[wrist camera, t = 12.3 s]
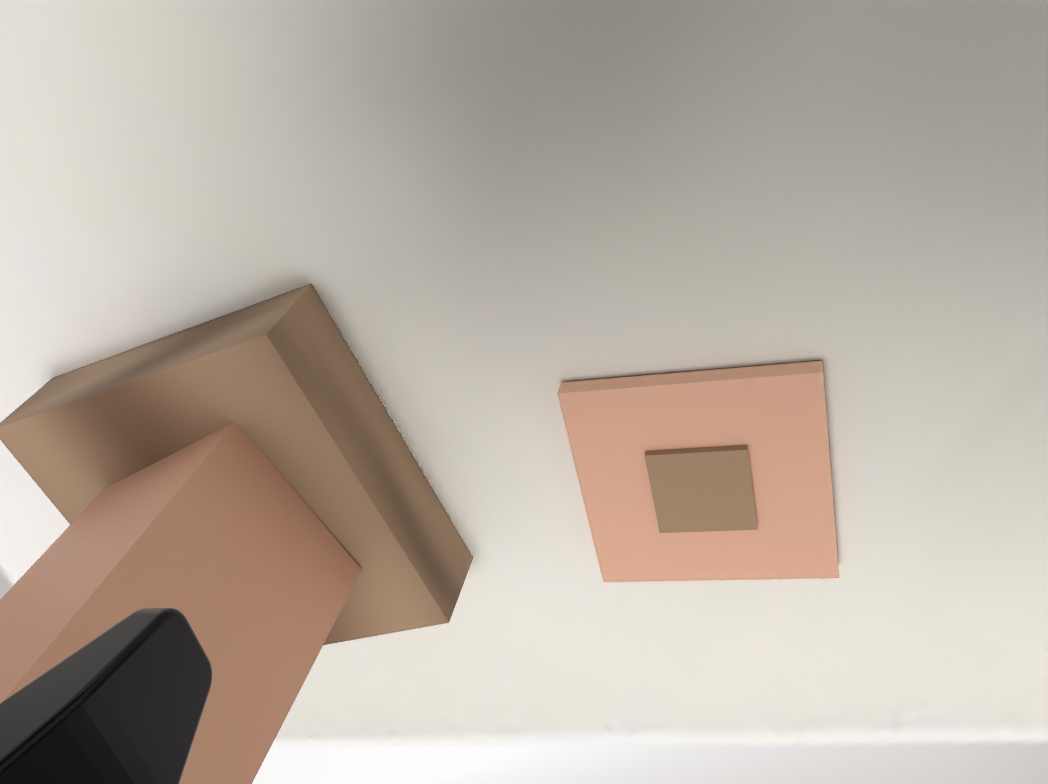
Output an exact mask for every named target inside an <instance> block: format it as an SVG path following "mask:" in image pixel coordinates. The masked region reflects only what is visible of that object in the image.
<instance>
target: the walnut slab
mask: <svg viewBox="0 0 1048 784" xmlns="http://www.w3.org/2000/svg"><path fill="white" fill-rule="evenodd" d="M234 422H237V424H238V425H239V426H240V427H241V428H242V429H243V431H244V432H245V433H246V434H247V435H248V436H249V437H250V439H251V440H252V441H253V442H254V443H255V444H256V446H257V447H258V448H259V449H260V450H261V451H262V453H263V454H264V455H265V456H266V457H267V459H268V460H269V461H270V462H271V463H272V464H273V466H274V467H275V468H276V469H277V470H278V471H279V473H280V474H281V475H282V476H283V477H284V479H285V480H286V481H287V482H288V483H289V484H290V486H291V487H292V488H293V489H294V490H295V491H296V493H297V494H298V495H299V496H300V497H301V499H302V500H303V501H304V502H305V503H306V504H307V506H308V507H309V508H310V509H311V510H312V511H313V513H314V514H315V515H316V516H317V517H318V518H319V520H320V521H321V522H322V523H323V524H324V526H325V527H326V528H327V529H328V530H329V531H330V533H331V534H332V535H333V536H334V537H335V538H336V540H337V541H338V542H339V543H340V544H341V546H342V547H343V548H344V549H345V550H346V551H347V553H348V554H349V555H350V556H351V557H352V558H353V560H354V561H355V562H356V563H357V564H358V565H359V567H360V568H361V569H362V570H361V572H360V574H359V576H358V578H357V580H356V582H355V584H354V586H353V588H352V590H351V592H350V594H349V596H348V598H347V599H346V601H345V603H344V605H343V607H342V609H341V611H340V613H339V615H338V617H337V619H336V621H335V623H334V625H333V627H332V629H331V631H330V632H329V634H328V636H327V638H326V640H325V642H324V644H323V645H326V644H332V643H337V642H343V641H349V640H354V639H360V638H365V637H371V636H377V635H382V634H388V633H393V632H399V631H405V630H410V629H416V628H421V627H427V626H433V625H438V624H444V623H449V621H450V618H451V616H452V613H453V610H454V608H455V605H456V602H457V600H458V597H459V594H460V591H461V589H462V586H463V583H464V581H465V578H466V575H467V573H468V570H469V567H470V564H471V562H472V559H473V557H472V555H471V553H470V552H469V550H468V548H467V547H466V545H465V543H464V541H463V540H462V538H461V536H460V535H459V533H458V531H457V530H456V528H455V526H454V525H453V523H452V521H451V519H450V518H449V516H448V514H447V513H446V511H445V509H444V508H443V506H442V504H441V503H440V501H439V499H438V497H437V496H436V494H435V492H434V491H433V489H432V487H431V486H430V484H429V482H428V481H427V479H426V477H425V475H424V474H423V472H422V470H421V469H420V467H419V465H418V464H417V462H416V460H415V458H414V457H413V455H412V453H411V452H410V450H409V448H408V447H407V445H406V443H405V442H404V440H403V438H402V436H401V435H400V433H399V431H398V430H397V428H396V426H395V425H394V423H393V421H392V420H391V418H390V416H389V414H388V413H387V411H386V409H385V408H384V406H383V404H382V403H381V401H380V399H379V398H378V396H377V394H376V392H375V391H374V389H373V387H372V386H371V384H370V382H369V381H368V379H367V377H366V376H365V374H364V372H363V370H362V369H361V367H360V365H359V364H358V362H357V360H356V359H355V357H354V355H353V353H352V352H351V350H350V348H349V347H348V345H347V343H346V342H345V340H344V338H343V337H342V335H341V333H340V331H339V330H338V328H337V326H336V325H335V323H334V321H333V320H332V318H331V316H330V315H329V313H328V311H327V309H326V308H325V306H324V304H323V303H322V301H321V299H320V298H319V296H318V294H317V293H316V291H315V289H314V287H313V286H312V284H309V285H306V286H304V287H301V288H298V289H295V290H293V291H290V292H287V293H284V294H282V295H279V296H276V297H273V298H271V299H268V300H265V301H262V302H260V303H257V304H254V305H252V306H249V307H246V308H243V309H241V310H238V311H235V312H232V313H230V314H227V315H224V316H221V317H219V318H216V319H213V320H210V321H208V322H205V323H202V324H199V325H197V326H194V327H191V328H188V329H186V330H183V331H180V332H178V333H175V334H172V335H169V336H167V337H164V338H161V339H158V340H156V341H153V342H150V343H147V344H145V345H142V346H139V347H136V348H134V349H131V350H128V351H125V352H123V353H120V354H117V355H114V356H112V357H109V358H106V359H104V360H101V361H98V362H95V363H93V364H90V365H87V366H84V367H82V368H79V369H76V370H73V371H71V372H68V373H65V374H62V375H60V376H57V377H54V378H52V379H51V380H50V381H49V382H48V383H46V384H45V385H44V386H43V387H42V388H41V389H39V390H38V391H37V392H36V393H35V394H34V395H32V396H31V397H30V398H29V399H28V400H27V401H25V402H24V403H23V404H22V405H21V406H20V407H18V408H17V409H16V410H15V411H14V412H12V413H11V414H10V415H9V416H8V417H7V418H5V419H4V420H3V421H2V422H1V423H0V440H1V441H2V442H3V443H4V445H5V446H6V447H7V448H8V449H9V451H10V452H11V453H12V454H13V456H14V457H15V458H16V459H17V460H18V462H19V463H20V464H21V465H22V466H23V468H24V469H25V470H26V471H27V473H28V474H29V475H30V476H31V477H32V479H33V480H34V481H35V482H36V483H37V485H38V486H39V487H40V488H41V490H42V491H43V492H44V493H45V494H46V496H47V497H48V498H49V499H50V500H51V502H52V503H53V504H54V505H55V507H56V508H57V509H58V510H59V511H60V513H61V514H62V515H63V516H64V517H65V519H66V520H67V521H68V522H69V523H70V525H71V524H72V523H73V522H74V521H75V520H76V519H77V518H78V517H79V516H80V514H81V513H82V512H83V511H84V510H85V509H86V508H87V507H88V506H89V505H90V504H91V503H92V502H93V501H94V500H95V498H96V497H97V496H98V495H99V494H100V493H101V492H102V491H103V490H104V489H105V488H107V487H109V486H111V485H113V484H115V483H117V482H119V481H121V480H123V479H125V478H127V477H129V476H131V475H133V474H135V473H137V472H138V471H140V470H142V469H144V468H146V467H148V466H150V465H152V464H154V463H156V462H158V461H160V460H162V459H164V458H166V457H168V456H170V455H171V454H173V453H175V452H177V451H179V450H181V449H183V448H185V447H187V446H189V445H191V444H193V443H195V442H197V441H199V440H201V439H203V438H205V437H207V436H208V435H210V434H212V433H214V432H216V431H218V430H220V429H222V428H224V427H226V426H228V425H230V424H232V423H234Z"/></svg>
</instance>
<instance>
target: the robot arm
mask: <svg viewBox="0 0 1048 784" xmlns="http://www.w3.org/2000/svg"><path fill="white" fill-rule="evenodd" d="M211 684H212V667H211V663H210V661H209V658H208V657H207V655H206V653H205V651H204V649H203V648H202V646H201V644H200V642H199V640H198V638H197V637H196V635H195V633H194V631H193V629H192V628H191V626H190V624H189V622H188V620H187V619H186V617H185V616H184V614H183V613H181V612H180V611H179V610H177V609H174V608H145V609H140V610H138V611H135V612H134V613H132V614H131V615H129V616H128V617H126V618H125V619H123V620H122V621H120V622H119V623H117V624H116V625H114V626H113V627H112V628H110V629H109V630H107V631H106V632H104V633H103V634H101V635H100V636H98V637H97V638H95V639H94V640H92V641H91V642H90V643H88V644H87V645H85V646H84V647H82V648H81V649H79V650H78V651H76V652H75V653H73V654H72V655H70V656H69V657H67V658H66V659H65V660H63V661H62V662H60V663H59V664H57V665H56V666H54V667H53V668H51V669H50V670H48V671H47V672H45V673H44V674H43V675H41V676H40V677H38V678H37V679H35V680H34V681H32V682H31V683H29V684H28V685H26V686H25V687H23V688H22V689H20V690H19V691H18V692H16V693H15V694H13V695H12V696H10V697H9V698H7V699H6V700H4V701H3V702H1V703H0V784H179V783H180V780H181V777H182V774H183V771H184V768H185V765H186V762H187V759H188V756H189V753H190V750H191V746H192V743H193V740H194V737H195V734H196V731H197V728H198V725H199V722H200V719H201V716H202V713H203V710H204V707H205V704H206V701H207V698H208V695H209V692H210V688H211Z"/></svg>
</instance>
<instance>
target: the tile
mask: <svg viewBox="0 0 1048 784" xmlns="http://www.w3.org/2000/svg"><path fill="white" fill-rule="evenodd" d="M558 396H559V401H560V405H561V409H562V413H563V417H564V421H565V425H566V429H567V433H568V438H569V442H570V446H571V450H572V454H573V458H574V462H575V466H576V471H577V475H578V479H579V483H580V487H581V491H582V495H583V499H584V504H585V508H586V512H587V516H588V520H589V524H590V528H591V532H592V537H593V541H594V545H595V549H596V553H597V557H598V561H599V565H600V570H601V574H602V578H603V582H635V581H690V580H746V579H801V578H839V568H838V555H837V542H836V530H835V517H834V504H833V491H832V478H831V465H830V452H829V439H828V426H827V413H826V400H825V387H824V374H823V363H822V361H812V362H800V363H788V364H776V365H764V366H752V367H740V368H728V369H716V370H704V371H692V372H680V373H668V374H656V375H644V376H632V377H620V378H608V379H596V380H584V381H572V382H562V383H561V386H560V388H559V391H558Z"/></svg>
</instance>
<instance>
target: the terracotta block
mask: <svg viewBox="0 0 1048 784" xmlns="http://www.w3.org/2000/svg"><path fill="white" fill-rule="evenodd" d="M361 570H362V569H361V568H360V567H359V565H358V564H357V563H356V562H355V561H354V560H353V558H352V557H351V556H350V555H349V554H348V553H347V551H346V550H345V549H344V548H343V547H342V546H341V544H340V543H339V542H338V541H337V540H336V538H335V537H334V536H333V535H332V534H331V533H330V531H329V530H328V529H327V528H326V527H325V526H324V524H323V523H322V522H321V521H320V520H319V518H318V517H317V516H316V515H315V514H314V513H313V511H312V510H311V509H310V508H309V507H308V506H307V504H306V503H305V502H304V501H303V500H302V499H301V497H300V496H299V495H298V494H297V493H296V491H295V490H294V489H293V488H292V487H291V486H290V484H289V483H288V482H287V481H286V480H285V479H284V477H283V476H282V475H281V474H280V473H279V471H278V470H277V469H276V468H275V467H274V466H273V464H272V463H271V462H270V461H269V460H268V459H267V457H266V456H265V455H264V454H263V453H262V451H261V450H260V449H259V448H258V447H257V446H256V444H255V443H254V442H253V441H252V440H251V439H250V437H249V436H248V435H247V434H246V433H245V432H244V431H243V429H242V428H241V427H240V426H239V425H238V424H237V422H234V423H232V424H230V425H228V426H226V427H224V428H222V429H220V430H218V431H216V432H214V433H212V434H210V435H208V436H207V437H205V438H203V439H201V440H199V441H197V442H195V443H193V444H191V445H189V446H187V447H185V448H183V449H181V450H179V451H177V452H175V453H173V454H171V455H170V456H168V457H166V458H164V459H162V460H160V461H158V462H156V463H154V464H152V465H150V466H148V467H146V468H144V469H142V470H140V471H138V472H137V473H135V474H133V475H131V476H129V477H127V478H125V479H123V480H121V481H119V482H117V483H115V484H113V485H111V486H109V487H107V488H105V489H104V490H103V491H102V492H101V493H100V494H99V495H98V496H97V497H96V498H95V500H94V501H93V502H92V503H91V504H90V505H89V506H88V507H87V508H86V509H85V510H84V511H83V512H82V513H81V514H80V516H79V517H78V518H77V519H76V520H75V521H74V522H73V523H72V524H71V525H70V526H69V527H68V528H67V529H66V530H65V531H64V533H63V534H62V535H61V536H60V537H59V538H58V539H57V540H56V541H55V542H54V543H53V544H52V545H51V546H50V547H49V549H48V550H47V551H46V552H45V553H44V554H43V555H42V556H41V557H40V558H39V559H38V560H37V561H36V562H35V563H34V564H33V566H32V567H31V568H30V569H29V570H28V571H27V572H26V573H25V574H24V575H23V576H22V577H21V578H20V579H19V580H18V582H17V583H16V584H15V585H14V586H13V587H12V588H11V589H10V590H9V591H8V592H7V593H6V594H5V595H4V596H3V597H2V599H1V600H0V703H1V702H3V701H4V700H6V699H7V698H9V697H10V696H12V695H13V694H15V693H16V692H18V691H19V690H20V689H22V688H23V687H25V686H26V685H28V684H29V683H31V682H32V681H34V680H35V679H37V678H38V677H40V676H41V675H43V674H44V673H45V672H47V671H48V670H50V669H51V668H53V667H54V666H56V665H57V664H59V663H60V662H62V661H63V660H65V659H66V658H67V657H69V656H70V655H72V654H73V653H75V652H76V651H78V650H79V649H81V648H82V647H84V646H85V645H87V644H88V643H90V642H91V641H92V640H94V639H95V638H97V637H98V636H100V635H101V634H103V633H104V632H106V631H107V630H109V629H110V628H112V627H113V626H114V625H116V624H117V623H119V622H120V621H122V620H123V619H125V618H126V617H128V616H129V615H131V614H132V613H134V612H135V611H138V610H140V609H145V608H174V609H177V610H179V611H180V612H181V613H183V614H184V616H185V617H186V619H187V620H188V622H189V624H190V626H191V628H192V629H193V631H194V633H195V635H196V637H197V638H198V640H199V642H200V644H201V646H202V648H203V649H204V651H205V653H206V655H207V657H208V658H209V661H210V663H211V667H212V684H211V688H210V692H209V695H208V698H207V701H206V704H205V707H204V710H203V713H202V716H201V719H200V722H199V725H198V728H197V731H196V734H195V737H194V740H193V743H192V746H191V750H190V753H189V756H188V759H187V762H186V765H185V768H184V771H183V774H182V777H181V780H180V783H179V784H252V782H253V780H254V778H255V776H256V774H257V772H258V770H259V768H260V766H261V765H262V762H263V761H264V759H265V757H266V755H267V753H268V751H269V749H270V747H271V745H272V743H273V741H274V739H275V737H276V735H277V733H278V731H279V730H280V728H281V726H282V724H283V722H284V720H285V718H286V716H287V714H288V712H289V710H290V708H291V706H292V704H293V702H294V700H295V698H296V697H297V695H298V693H299V691H300V689H301V687H302V685H303V683H304V681H305V679H306V677H307V675H308V673H309V671H310V669H311V667H312V665H313V664H314V662H315V660H316V658H317V656H318V654H319V652H320V650H321V648H322V646H323V644H324V642H325V640H326V638H327V636H328V634H329V632H330V631H331V629H332V627H333V625H334V623H335V621H336V619H337V617H338V615H339V613H340V611H341V609H342V607H343V605H344V603H345V601H346V599H347V598H348V596H349V594H350V592H351V590H352V588H353V586H354V584H355V582H356V580H357V578H358V576H359V574H360V572H361Z"/></svg>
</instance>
